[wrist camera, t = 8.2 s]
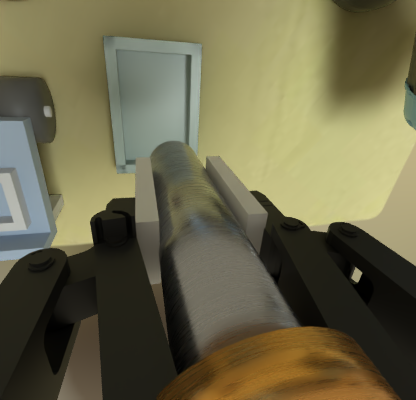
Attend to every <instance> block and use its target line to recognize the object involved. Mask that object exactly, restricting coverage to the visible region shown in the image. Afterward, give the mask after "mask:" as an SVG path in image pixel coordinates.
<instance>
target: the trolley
mask: <svg viewBox="0 0 416 400" xmlns="http://www.w3.org/2000/svg"><path fill="white" fill-rule="evenodd" d="M55 131H56V119H55V110H54V105H53V101H52V97H51V94H50V91H49V89H48V87H47V85H46V83H45V82H44V81H43V80H42V79H41V78H30V77H9V76H0V261H3V260H14V259H21V258H22V257H24V256H25V255H27V254H29V253H31V252H34V251H37V250H40V249H46V248H50V246H51V244H52V242H53V239H54V237H55V235H56V233H57V228H56V224H55V221H56V219H57V217H58V215H59V213H60V211H61V209H62V207H63V205H64V202H63V197H62V195H49V194H48V190H47V186H46V182H45V178H44V174H43V169H42V165H41V161H40V157H39V153H38V148H37V144H36V143H51V142H52V141H53V140H54V137H55Z"/></svg>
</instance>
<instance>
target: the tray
mask: <svg viewBox="0 0 416 400" xmlns="http://www.w3.org/2000/svg"><path fill="white" fill-rule="evenodd" d="M103 42H104V52H105V62H106V71H107V81H108V91H109V100H110V110H111V120H112V129H113V139H114V149H115V158H116V168H117V173H136V158H140V157H150V155H151V153H152V152H153V150H154V149H155V148H156V147H157V146H158V145H160V144H162V143H164V142H167V141H181V142H183V143H186V144H187V145H189V146H190V147H191V148H192V149H193V150H194V152H195V154H196V155H197V150H198V127H199V103H200V80H201V57H202V44H197V43H186V42H174V41H162V40H150V39H139V38H127V37H115V36H103Z"/></svg>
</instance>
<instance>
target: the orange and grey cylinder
mask: <svg viewBox="0 0 416 400" xmlns="http://www.w3.org/2000/svg"><path fill="white" fill-rule="evenodd" d="M150 160H151V167H152V174H153V181H154V188H155V195H156V202H157V210H158V217H159V235H160V246H159V262H160V271H161V279H162V288H163V297H164V306H165V314H166V323H167V332H168V341H169V348H170V351H171V355H172V358H173V361H174V365H175V368H176V371H177V375H178V376H177V377H176V378H174V379H173V380H172V381H171V382H170V383H169V384H168V385H166V386H165V387H164V388H163V389H162V391H161V392H160V393H159V394H158V395H157V400H401V399H400V397H399V396H398V395H397V394H396V392H395V391H394V390H393V388H392V387H391V386H390V385H389V383H388V382H387V381H386V379H385V378H384V377H383V376H382V374H381V373H380V372H379V370H378V369H377V368H376V367H375V365H374V364H373V363H372V361H371V360H370V359H369V358H368V356H367V355H366V354H365V352H364V351H363V350H362V349H361V347H360V346H359V345H358V344H357V342H356V341H355V340H354V339H353V338H351V337H350V336H348V335H347V334H345V333H343V332H340V331H338V330H334V329H330V328H324V327H304V326H303V324H302V323H301V321H300V320H299V318H298V316H297V315H296V313H295V312H294V310H293V308H292V307H291V305H290V304H289V302H288V300H287V299H286V297H285V296H284V294H283V292H282V291H281V289H280V288H279V286H278V284H277V283H276V281H275V280H274V278H273V276H272V275H271V273H270V272H269V270H268V268H267V267H266V265H265V264H264V262H263V260H262V259H261V257H260V256H259V254H258V253H257V251H256V249H255V248H254V246H253V245H252V243H251V241H250V240H249V238H248V237H247V235H246V233H245V232H244V230H243V229H242V227H241V225H240V224H239V222H238V221H237V219H236V217H235V216H234V214H233V213H232V211H231V209H230V208H229V206H228V205H227V203H226V201H225V200H224V198H223V197H222V195H221V193H220V192H219V190H218V189H217V187H216V185H215V184H214V182H213V181H212V179H211V178H210V176H209V174H208V173H207V171H206V170H205V168H204V166H203V165H202V163H201V162H200V160H199V158H198V157H197V155H196V154H195V152H194V150H193V149H192V148H191V147H190V146H189V145H187V144H186V143H183V142H181V141H167V142H164V143H162V144H160V145H158V146H157V147H156V148H155V149H154V150H153V152H152V153H151V155H150Z"/></svg>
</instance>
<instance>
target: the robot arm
mask: <svg viewBox="0 0 416 400" xmlns="http://www.w3.org/2000/svg"><path fill="white" fill-rule="evenodd" d="M333 1H334V2H335V3H336V4H337V5H339V6H340V7H342V8H343V9H345V10H348V11H352V12H364V11H369V10H374V9H378V8H381V7H384V6H386V5H388V4H390V3H392V2H394V1H395V0H333ZM405 89H406V94H405V104H404V117H405V119H406V121H407V123H408V124H409V125H410V126H411V127H413V128H414V129H415V130H416V34H415V40H414V46H413V52H412V58H411V63H410V68H409V74H408V77H407V78H406V81H405ZM206 171H207V173H208V174H209V176H210V178H211V179H212V181H213V182H214V184H215V185H216V187H217V189H218V190H219V192H220V193H221V195H222V197H223V198H224V200H225V201H226V203H227V205H228V206H229V208H230V209H231V211H232V213H233V214H234V216H235V217H236V219H237V221H238V222H239V224H240V225H241V227H242V229H243V230H244V232H245V233H246V235H247V237H248V238H249V240H250V241H251V243H252V245H253V246H254V248H255V249H256V251H257V253H258V254H259V256H260V257H261V259H262V260H263V262H264V264H265V265H266V267H267V268H268V270H269V272H270V273H271V275H272V276H273V278H274V280H275V281H276V283H277V284H278V286H279V288H280V289H281V291H282V292H283V294H284V296H285V297H286V299H287V300H288V302H289V304H290V305H291V307H292V308H293V310H294V312H295V313H296V315H297V316H298V318H299V320H300V321H301V323H302V324H303V326H304V327H324V328H330V329H334V330H338V331H340V332H343V333H345V334H347V335H348V336H350V337H351V338H353V339H354V340H355V341H356V342H357V344H358V345H359V346H360V347H361V349H362V350H363V351H364V352H365V354H366V355H367V356H368V358H369V359H370V360H371V361H372V363H373V364H374V365H375V367H376V368H377V369H378V370H379V372H380V373H381V374H382V376H383V377H384V378H385V379H386V381H387V382H388V383H389V385H390V386H391V387H392V388H393V390H394V391H395V392H396V394H397V395H398V396H399V397H400V399H401V400H416V266H414V265H413V264H412V263H410V262H409V261H407V260H406V259H404V258H403V257H401V256H400V255H398V254H397V253H395V252H394V251H393V250H391V249H390V248H388V247H387V246H385V245H384V244H382V243H380V242H379V241H378V240H376V239H375V238H374V237H372V236H370V235H369V234H368V233H366V232H365V231H363V230H362V229H360V228H358V227H356V226H354V225H351V224H350V223H345V222H335V223H332V224H330V226H329V228H328V231H327V233H326V232H317V231H311V230H310V229H309V227H308V226H307V225H306V224H305V223H304V222H302V221H300V220H298V219H295V218H292V217H285V216H284V215H283V214H282V213H281V212H280V211H279V210H278V209H277V208H276V207H275V206H274V205H273V203H272V202H271V201H270V200H269V199H268V198H267V197H266V196H265V195H264V194H262V193H260V192H258V191H249V190H248V189H247V188H246V187H245V186H244V184H243V183H242V182H241V181H240V180H239V179H238V177H237V176H236V175H235V174H234V173H233V172H232V170H231V169H230V168H229V167H228V166H227V165H226V163H225V162H224V161H223V160H222V159H221V158H220V156H207V158H206ZM90 225H91V231H92V237H93V243H94V246H93V247H92V248H91V249H89V250H87V251H85V252H82V253H79V254H76V255H73V256H69V257H67V255H66V254H65V252H64V251H62V250H60V249H56V248H46V249H40V250H37V251H34V252H31V253H29V254H27V255H25V256H24V257H22V258H21V259H20V260H19V261H18V262H16V264H15V265H14V266H13V268H12V269H11V270H10V272H9V273H8V275H7V276H6V278H5V279H4V280H3V281H2V283H1V284H0V400H57V398H58V395H59V392H60V389H61V385H62V382H63V379H64V376H65V372H66V369H67V366H68V363H69V359H70V356H71V353H72V349H73V346H74V343H75V340H76V337H77V333H78V330H79V327H80V324H81V320H83V319H86V318H88V317H90V316H93V315H95V314H98V325H99V341H100V342H99V343H100V360H101V377H102V393H103V394H102V395H103V400H157V395H158V394H159V393H160V392H161V391H162V389H163V388H164V387H165V386H166V385H168V384H169V383H170V382H171V381H172V380H173V379H174V378H176V377H177V376H178V375H177V371H176V368H175V365H174V361H173V358H172V355H171V351H170V348H169V344H168V341H167V338H166V334H165V331H164V328H163V325H162V321H161V317H160V314H159V311H158V307H157V304H156V301H155V297H154V294H153V291H152V287H151V284H157V283H161V271H160V262H159V246H160V235H159V217H158V210H157V202H156V195H155V188H154V181H153V174H152V167H151V160H150V157H140V158H136V179H135V198H116V199H112V200H111V201H110V202H109V203H108V204H107V206H106V210H104V211H101V212H99V213H97V214H96V215H94V216H93V217H92V218H91V221H90ZM355 267H356V268H358V269H359V270H360V271H361V272H362V275H361V278H360V280H359V282H358V283H357V282H355V281H354V280H352V279H351V277H352V275H353V272H354V270H355Z"/></svg>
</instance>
